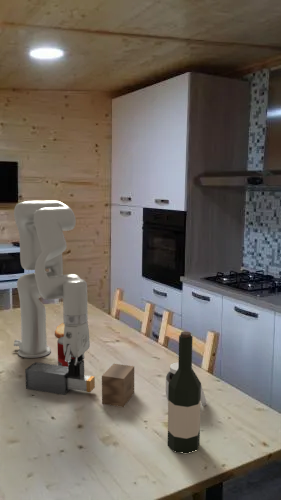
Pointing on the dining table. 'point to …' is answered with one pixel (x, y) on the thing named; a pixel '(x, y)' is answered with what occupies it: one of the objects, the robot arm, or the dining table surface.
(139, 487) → the dining table surface
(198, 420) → the wine bottle
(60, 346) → the canned food
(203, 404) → the white mug
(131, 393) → the socket block
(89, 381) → the steel bar
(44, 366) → the sleeve
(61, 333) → the slice of bread
